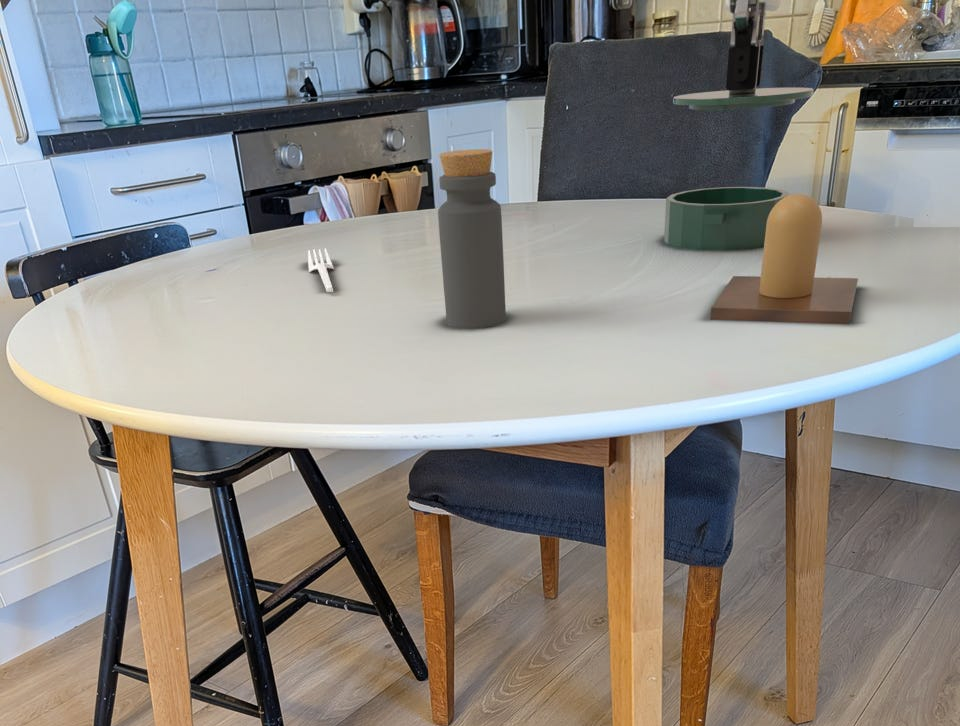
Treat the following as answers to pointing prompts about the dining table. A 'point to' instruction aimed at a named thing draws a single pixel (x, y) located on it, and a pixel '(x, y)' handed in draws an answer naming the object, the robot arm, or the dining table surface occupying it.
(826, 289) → the board
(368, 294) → the dining table surface
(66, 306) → the dining table surface
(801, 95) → the lid
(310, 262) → the fork
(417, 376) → the dining table surface
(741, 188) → the pot
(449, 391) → the dining table surface
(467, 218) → the bottle
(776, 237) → the tan domed cylinder
